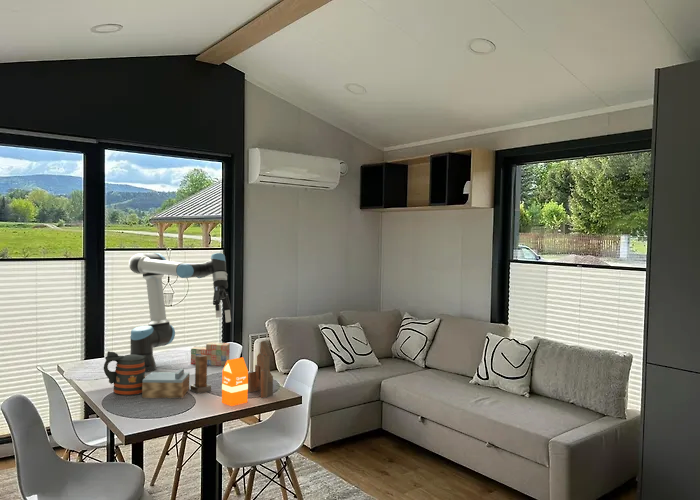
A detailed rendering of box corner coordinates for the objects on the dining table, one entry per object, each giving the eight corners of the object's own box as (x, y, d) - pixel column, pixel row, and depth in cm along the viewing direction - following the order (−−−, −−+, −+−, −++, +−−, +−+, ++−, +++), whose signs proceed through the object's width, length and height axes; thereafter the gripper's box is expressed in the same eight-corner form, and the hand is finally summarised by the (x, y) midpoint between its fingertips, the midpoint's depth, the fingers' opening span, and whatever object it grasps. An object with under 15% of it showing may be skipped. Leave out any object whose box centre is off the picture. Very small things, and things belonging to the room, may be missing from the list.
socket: (197, 393, 255) (197, 388, 255) (190, 390, 260) (190, 385, 260) (211, 390, 260) (211, 385, 260) (203, 387, 265) (203, 382, 265)
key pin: (198, 392, 257) (199, 357, 257) (195, 390, 260) (195, 355, 260) (206, 390, 260) (207, 355, 260) (202, 388, 263) (203, 354, 262)
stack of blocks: (190, 364, 312) (190, 343, 311) (194, 362, 318) (194, 341, 317) (226, 366, 310) (226, 345, 309) (229, 363, 316) (230, 342, 315)
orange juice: (247, 402, 244) (248, 358, 243) (231, 406, 237) (232, 361, 237) (237, 398, 249) (238, 355, 249) (221, 402, 243) (222, 358, 242)
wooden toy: (245, 390, 261) (246, 340, 261) (257, 388, 266) (258, 338, 265) (262, 398, 250) (264, 345, 249) (274, 395, 254) (276, 343, 254)
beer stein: (106, 398, 244) (106, 355, 243) (101, 390, 256) (102, 349, 256) (149, 393, 254) (150, 351, 254) (143, 385, 267) (143, 345, 266)
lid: (142, 382, 246) (142, 374, 246) (151, 374, 260) (151, 367, 260) (182, 382, 248) (182, 374, 247) (189, 374, 262) (189, 367, 261)
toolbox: (142, 397, 247) (142, 382, 246) (151, 389, 261) (151, 374, 260) (182, 397, 248) (182, 382, 248) (189, 389, 262) (189, 375, 262)
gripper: (218, 273, 275) (221, 313, 268) (234, 285, 299) (238, 322, 292) (204, 276, 276) (207, 316, 269) (222, 288, 300) (225, 325, 293)
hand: (223, 319), depth 280 cm, fingers open, 13 cm apart
